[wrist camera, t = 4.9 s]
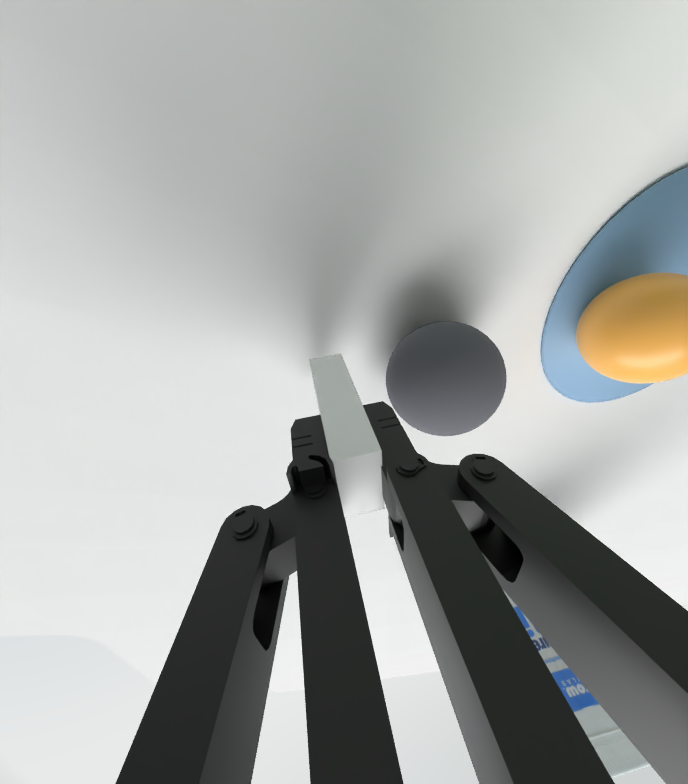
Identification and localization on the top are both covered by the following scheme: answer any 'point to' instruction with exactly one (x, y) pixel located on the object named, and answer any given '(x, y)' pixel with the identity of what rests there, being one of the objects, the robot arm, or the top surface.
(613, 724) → the supplement tub
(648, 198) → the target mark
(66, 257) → the top surface
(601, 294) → the object ball
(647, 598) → the robot arm
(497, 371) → the gray sphere
